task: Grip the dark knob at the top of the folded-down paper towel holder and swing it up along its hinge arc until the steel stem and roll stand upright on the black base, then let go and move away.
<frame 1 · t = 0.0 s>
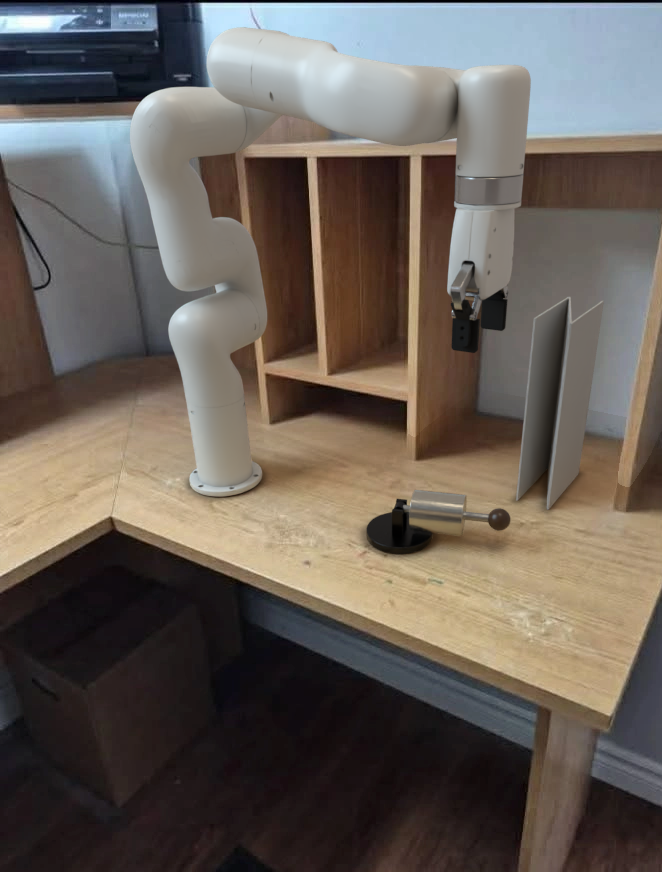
hand: (479, 339, 86), 31 cm above the table, tool pointing down, fingers open, 9 cm apart
brochure: (548, 487, 116), on the table
paper towel holder: (451, 514, 100), point 5 cm above the table, hinge at 0.0°
holder base: (399, 535, 104), on the table
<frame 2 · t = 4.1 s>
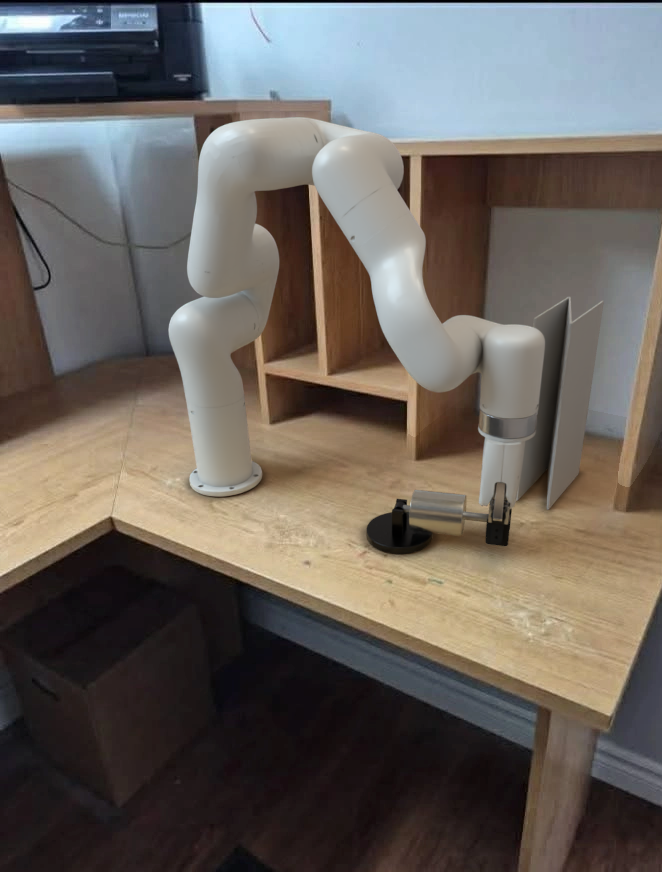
hand: (497, 535, 100), 2 cm above the table, tool pointing down, fingers closed on paper towel holder, 3 cm apart
paper towel holder: (451, 514, 100), point 5 cm above the table, hinge at 0.0°, touching gripper
everything else where it was.
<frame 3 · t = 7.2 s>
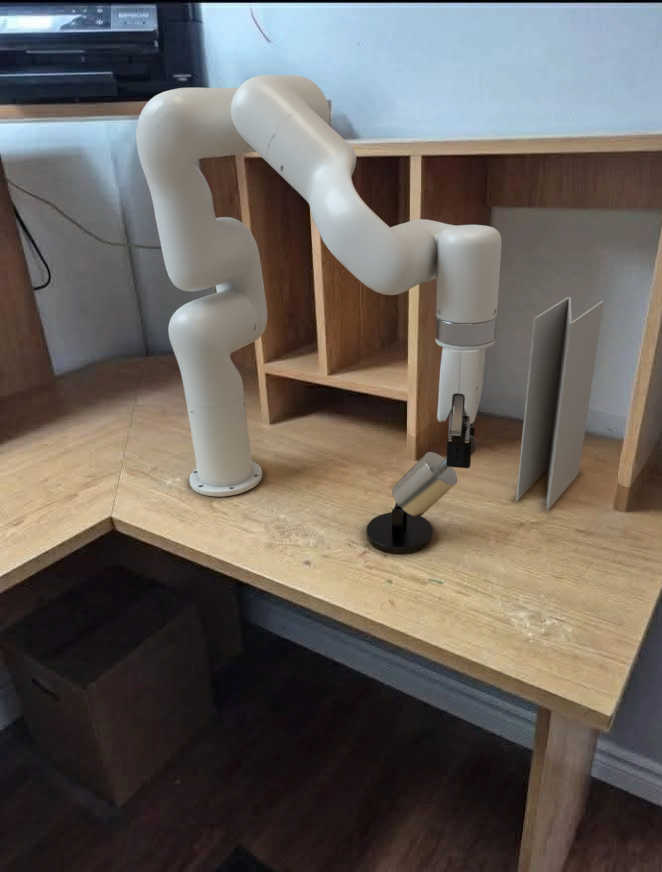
hand: (460, 458, 96), 14 cm above the table, tool pointing down, fingers closed on paper towel holder, 3 cm apart
paper towel holder: (433, 476, 98), point 11 cm above the table, hinge at 50.9°, touching gripper
everything else where it was.
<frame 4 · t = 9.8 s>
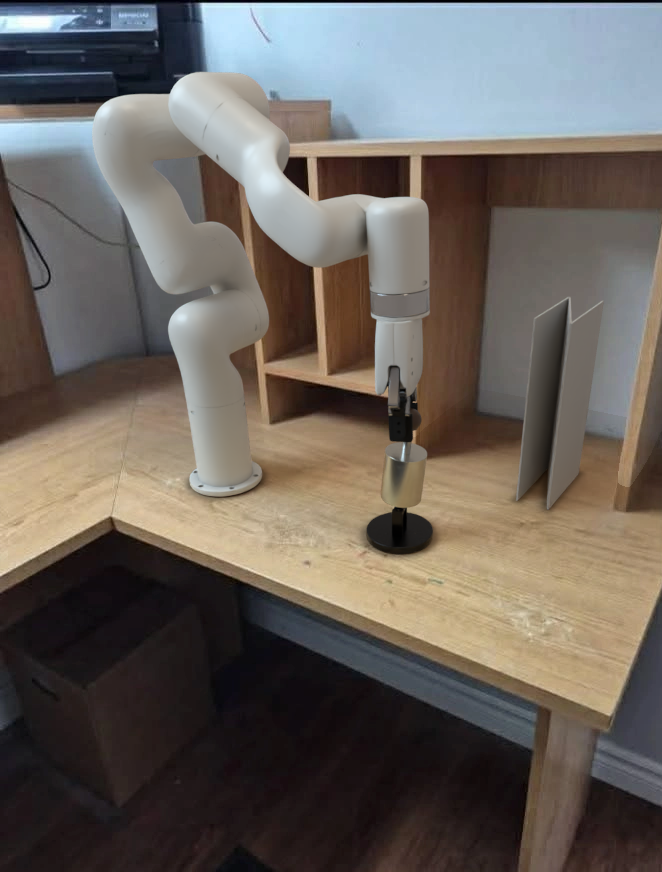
hand: (404, 433, 96), 17 cm above the table, tool pointing down, fingers closed on paper towel holder, 3 cm apart
paper towel holder: (404, 463, 98), point 12 cm above the table, hinge at 84.5°, touching gripper
everything else where it was.
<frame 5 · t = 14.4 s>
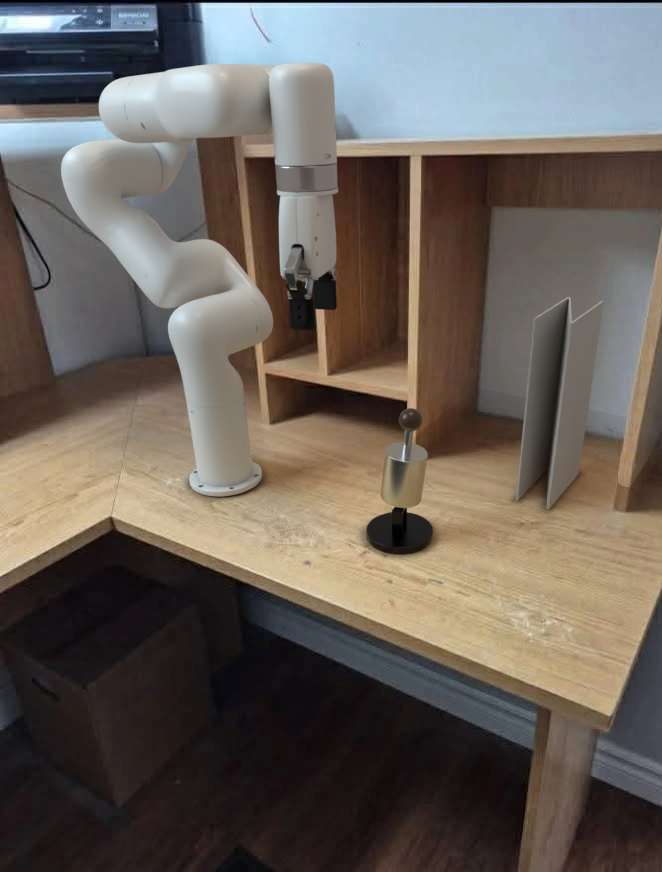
hand: (315, 318, 93), 32 cm above the table, tool pointing down, fingers open, 9 cm apart
paper towel holder: (405, 463, 98), point 12 cm above the table, hinge at 84.1°
everything else where it was.
at the end: paper towel holder at +84° (first picture: +0°); the gripper is holding nothing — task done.
